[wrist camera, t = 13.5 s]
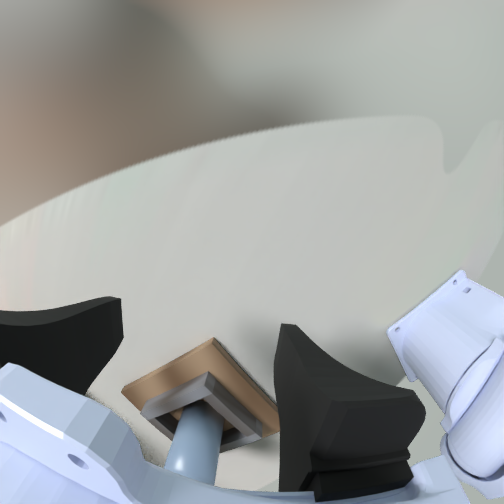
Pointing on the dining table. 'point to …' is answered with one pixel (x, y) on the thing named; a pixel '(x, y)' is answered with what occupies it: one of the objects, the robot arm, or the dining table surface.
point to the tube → (196, 443)
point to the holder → (205, 395)
